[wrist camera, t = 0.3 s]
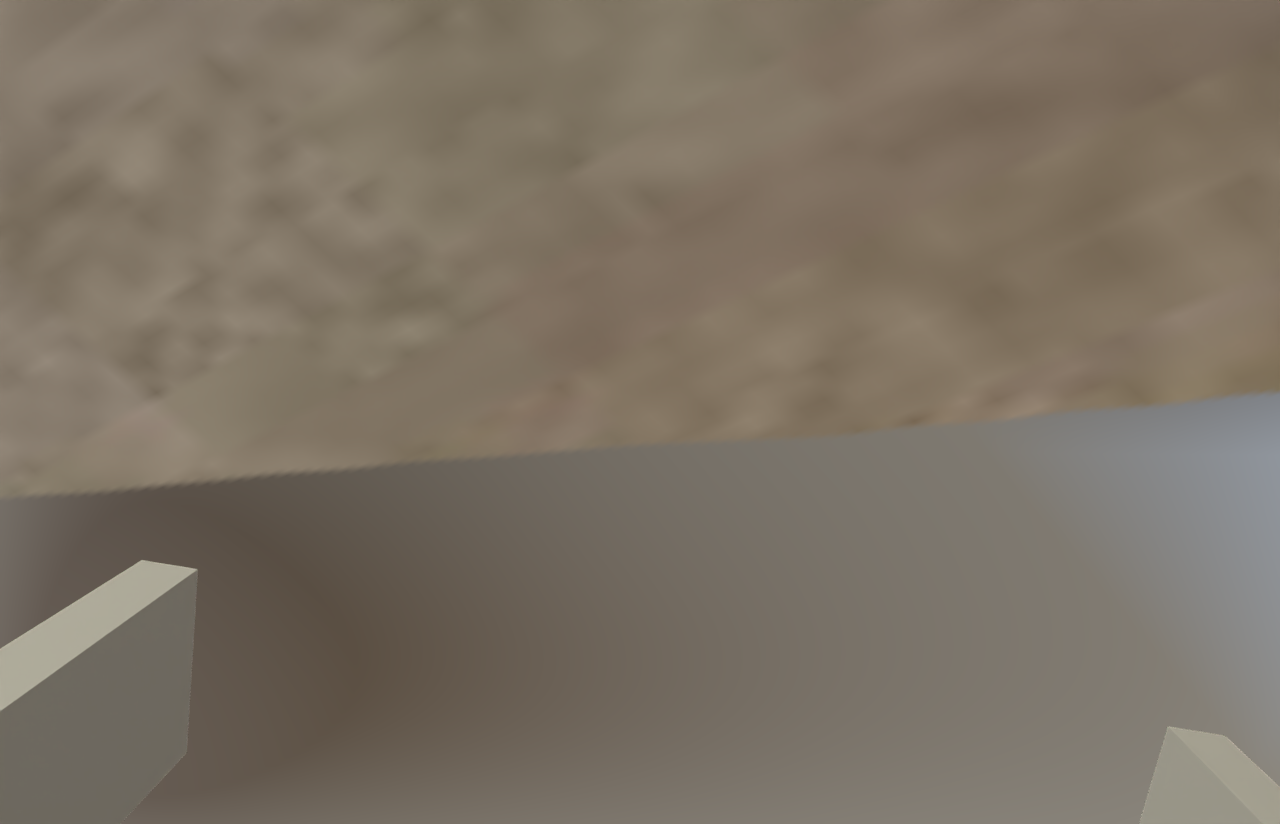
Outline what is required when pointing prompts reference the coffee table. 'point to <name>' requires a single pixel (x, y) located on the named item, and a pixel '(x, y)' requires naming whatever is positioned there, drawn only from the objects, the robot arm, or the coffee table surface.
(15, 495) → the coffee table surface
